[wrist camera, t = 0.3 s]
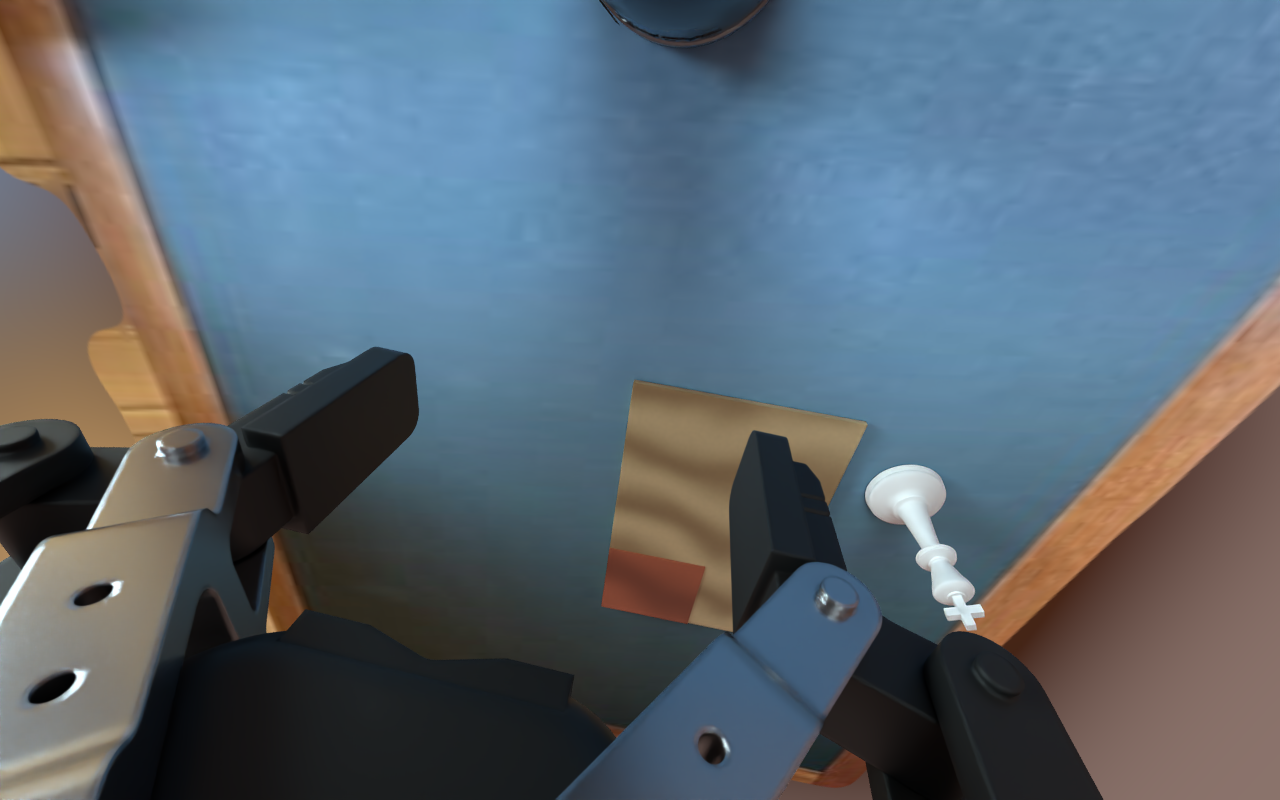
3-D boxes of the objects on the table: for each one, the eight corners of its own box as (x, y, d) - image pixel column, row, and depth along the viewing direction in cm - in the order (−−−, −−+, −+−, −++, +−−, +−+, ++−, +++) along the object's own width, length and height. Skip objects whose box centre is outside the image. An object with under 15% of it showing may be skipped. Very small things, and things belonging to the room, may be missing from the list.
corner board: (634, 379, 30) (633, 382, 30) (866, 421, 30) (868, 425, 29) (602, 601, 43) (601, 606, 43) (763, 634, 42) (763, 639, 42)
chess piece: (946, 510, 32) (1029, 650, 24) (871, 523, 34) (923, 659, 25) (939, 456, 30) (1027, 590, 22) (859, 473, 32) (911, 604, 23)
